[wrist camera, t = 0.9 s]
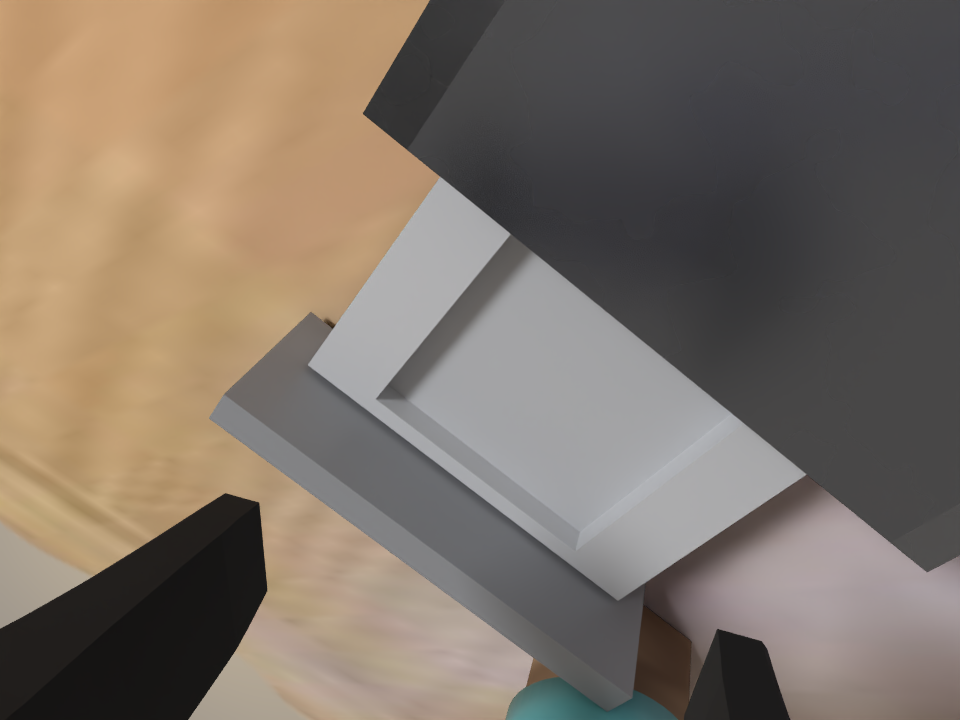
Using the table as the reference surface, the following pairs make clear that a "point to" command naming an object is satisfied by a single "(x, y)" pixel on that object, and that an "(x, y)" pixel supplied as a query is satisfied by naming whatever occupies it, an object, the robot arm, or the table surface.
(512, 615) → the tray
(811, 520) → the table surface
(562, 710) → the disc
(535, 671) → the walnut block
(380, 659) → the table surface
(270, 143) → the table surface
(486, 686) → the table surface
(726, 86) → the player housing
